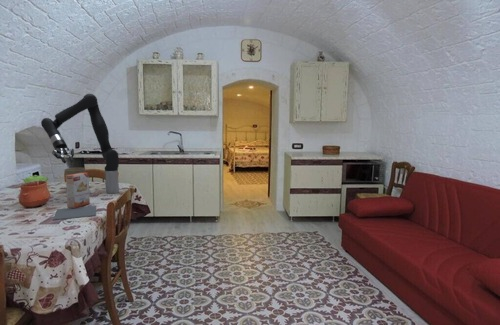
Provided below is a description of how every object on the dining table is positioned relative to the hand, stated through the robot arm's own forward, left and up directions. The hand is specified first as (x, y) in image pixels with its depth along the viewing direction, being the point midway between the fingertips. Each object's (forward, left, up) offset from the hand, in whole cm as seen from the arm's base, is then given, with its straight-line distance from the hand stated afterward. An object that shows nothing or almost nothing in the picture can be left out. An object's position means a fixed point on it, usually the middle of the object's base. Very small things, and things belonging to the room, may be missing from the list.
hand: (68, 162), depth 214 cm
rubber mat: (+24, +4, -28) cm, 37 cm away
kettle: (-59, -29, -28) cm, 71 cm away
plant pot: (-49, 0, -28) cm, 56 cm away
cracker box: (+9, +5, -28) cm, 30 cm away
